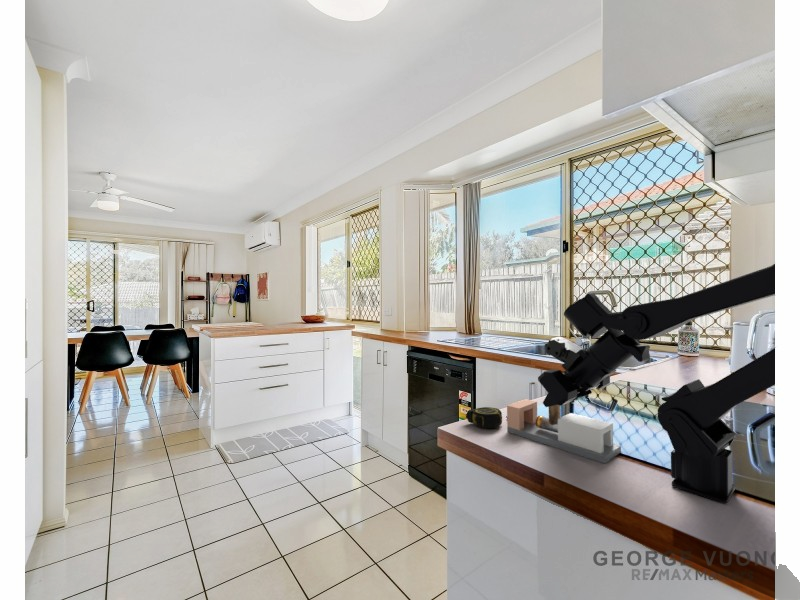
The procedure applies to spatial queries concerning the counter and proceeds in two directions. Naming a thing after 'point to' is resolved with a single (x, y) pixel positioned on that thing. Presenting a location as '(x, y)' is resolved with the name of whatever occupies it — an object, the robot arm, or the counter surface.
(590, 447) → the tube rig
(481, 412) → the tape measure
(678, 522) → the counter surface
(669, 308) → the robot arm
